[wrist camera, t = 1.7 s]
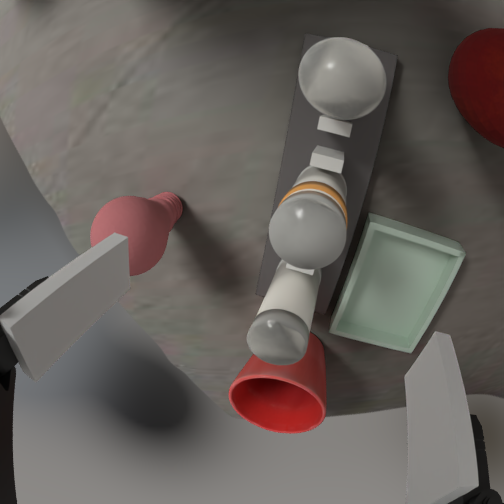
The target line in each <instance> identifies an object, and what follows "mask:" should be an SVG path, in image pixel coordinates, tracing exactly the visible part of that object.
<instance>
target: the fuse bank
mask: <svg viewBox="0 0 504 504" xmlns="http://www.w3.org/2000/svg"><path fill="white" fill-rule="evenodd" d="M325 39H328V37H323V36H318V35H312V34H306V33H305V38H304V44H303V49H302V55H301V60H302V58H303V56H304V55H305V53H306V52H307V51H308V50H309V49H310V48H311V47H312V46H313V45H315V44H316V43H318V42H320V41H322V40H325ZM364 45H365V44H364ZM366 46H367V47H368V45H366ZM369 48H370V49H371V50H372V51H373V52H374V53H375V54H376V55H377V56H378V58H379V59H380V61H381V62H382V65H383V67H384V70H385V73H386V91H385V94H384V97H383V99H382V101H381V102H380V104H379V105H378V106H377V107H376V108H375V109H374V110H373V111H372V112H370V113H369V114H367V115H365V116H363V117H360V118H357V119H352V120H341V119H335V118H332V117H329V116H327V115H324V114H322V113H321V112H319V111H318V110H316V109H315V108H314V107H313V106H312V105H311V104H310V103H309V102H308V101H307V99H306V98H305V96H304V95H303V92H302V90H301V87H300V84H299V76H298V77H297V83H296V88H295V94H294V99H293V104H292V110H291V115H290V121H289V126H288V131H287V137H286V142H285V147H284V153H283V158H282V163H281V168H280V173H279V179H278V184H277V189H276V194H275V199H274V204H273V210H272V215H271V218H272V216H273V214H274V213H275V211H276V210H277V208H278V206H279V204H280V202H281V201H282V199H283V198H284V196H285V195H286V193H287V192H288V191H289V190H290V189H291V188H292V187H293V185H294V184H295V182H296V181H297V178H298V177H299V175H300V174H301V172H302V171H303V170H304V169H305V168H306V167H307V166H309V165H310V166H314V167H318V168H322V169H326V170H330V171H333V172H337V173H341V172H342V174H343V176H344V177H345V180H346V184H347V195H346V207H347V230H346V243H345V246H344V249H343V251H342V253H341V254H340V256H339V257H338V258H337V259H336V260H335V261H334V262H332V263H331V264H329V265H327V266H325V267H323V268H322V276H321V282H320V285H319V289H318V295H317V300H316V305H315V310H314V312H318V313H321V314H326V311H327V308H328V306H329V303H330V301H331V298H332V295H333V292H334V290H335V287H336V284H337V281H338V279H339V276H340V273H341V270H342V267H343V264H344V261H345V259H346V256H347V253H348V250H349V247H350V244H351V241H352V237H353V234H354V231H355V228H356V225H357V222H358V218H359V215H360V212H361V209H362V205H363V202H364V198H365V195H366V192H367V188H368V185H369V181H370V177H371V174H372V170H373V166H374V162H375V159H376V155H377V151H378V147H379V143H380V139H381V135H382V130H383V126H384V122H385V117H386V113H387V108H388V104H389V99H390V94H391V89H392V84H393V79H394V73H395V68H396V62H397V56H398V55H395V54H391V53H388V52H385V51H382V50H378V49H375V48H371V47H369ZM301 60H300V63H301ZM298 73H299V72H298ZM270 221H271V220H270ZM280 261H281V258H280V257H279V256H278V255H277V253H276V252H275V250H274V249H273V247H272V245H271V242H270V238H269V230H268V235H267V240H266V245H265V250H264V255H263V260H262V265H261V270H260V275H259V280H258V285H257V290H256V295H259V296H263V297H265V296H266V293H267V291H268V289H269V287H270V284H271V282H272V280H273V278H274V275H275V273H276V270H277V267H278V265H279V263H280ZM286 268H288V269H292V270H295V271H299V272H303V273H306V274H310V275H313V273H314V269H313V270H307V269H300V268H297V267H294V266H292V265H290V264H288V263H287V264H286Z"/></svg>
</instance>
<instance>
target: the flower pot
mask: <svg viewBox="0 0 504 504" xmlns="http://www.w3.org/2000/svg"><path fill="white" fill-rule="evenodd" d="M229 400H230V402H231V405H232V406H233V408H234V409H235V411H236V412H237V413H238V414H239V415H240V416H242V417H243V418H244V419H246V420H247V421H249V422H250V423H252V424H254V425H256V426H258V427H261V428H264V429H266V430H269V431H274V432H279V433H301V432H306V431H309V430H312V429H314V428H316V427H317V426H318V425H320V424H321V423H322V422H323V420H324V418H325V416H326V367H325V356H324V348H323V345H322V343H321V342H320V340H319V339H318V338H317V337H316V336H315V335H314V334H312V333H311V332H310V333H309V341H308V345H307V350H306V353H305V355H304V357H303V358H302V359H301V360H299V361H298V362H296V363H294V364H290V365H274V364H270V363H267V362H265V361H263V360H261V359H260V358H258V357H257V356H256V355H254V354H253V355H252V356H251V358H250V359H249V361H248V362H247V363H246V365H245V366H244V367H243V369H242V370H241V372H240V373H239V374H238V376H237V377H236V378H235V380H234V381H233V383H232V385H231V386H230V389H229Z"/></svg>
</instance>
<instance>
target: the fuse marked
mask: <svg viewBox="0 0 504 504" xmlns="http://www.w3.org/2000/svg"><path fill="white" fill-rule="evenodd" d="M346 195H347V184H346V180H345V177H344V176H343V174H342V172H341V173H337V172H333V171H330V170H326V169H322V168H318V167H314V166H310V165H309V166H307V167H306V168H305V169H304V170H303V171H302V172H301V174H300V175H299V177H298V178H297V181H296V182H295V184H294V185H293V187H292V188H291V189H290V190H289V191H288V192H287V193H286V195H285V196H284V198H283V199H282V201H281V202H280V204H279V206H278V208H277V210H276V211H275V213H274V214H273V216H272V218H271V221H270V225H269V238H270V242H271V245H272V247H273V249H274V250H275V252H276V253H277V255H278V256H279V257H280V258H281V259H282V260H284V261H285V262H286V263H288V264H290V265H292V266H294V267H297V268H300V269H307V270H313V269H319V268H323V267H325V266H327V265H329V264H331V263H332V262H334V261H335V260H336V259H337V258H338V257H339V256H340V254H341V253H342V251H343V249H344V246H345V243H346V230H347V207H346Z"/></svg>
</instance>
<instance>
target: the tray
mask: <svg viewBox="0 0 504 504" xmlns="http://www.w3.org/2000/svg"><path fill="white" fill-rule="evenodd" d="M465 255H466V252H465V251H464V249H463V248H462V246H461V245H460V243H459V242H457V241H455V240H452V239H449V238H446V237H443V236H440V235H438V234H435V233H432V232H429V231H426V230H423V229H420V228H417V227H414V226H411V225H408V224H405V223H402V222H399V221H396V220H392V219H389V218H386V217H383V216H380V215H376V214H373V213H370V212H369V213H368V216H367V219H366V222H365V225H364V228H363V232H362V235H361V238H360V241H359V244H358V246H357V249H356V252H355V255H354V258H353V261H352V264H351V266H350V269H349V272H348V275H347V277H346V280H345V283H344V286H343V288H342V291H341V293H340V296H339V299H338V301H337V304H336V306H335V309H334V311H333V314H332V316H331V319H330V327H329V333H332V334H335V335H339V336H343V337H346V338H350V339H354V340H358V341H362V342H366V343H370V344H374V345H378V346H382V347H386V348H390V349H394V350H399V351H403V352H407V353H412V351H413V350H414V348H415V347H416V345H417V343H418V342H419V340H420V339H421V337H422V335H423V334H424V332H425V331H426V329H427V327H428V326H429V324H430V322H431V320H432V319H433V317H434V315H435V313H436V312H437V310H438V308H439V306H440V305H441V303H442V301H443V299H444V297H445V295H446V293H447V291H448V290H449V288H450V286H451V284H452V282H453V280H454V278H455V276H456V274H457V272H458V270H459V267H460V265H461V263H462V261H463V259H464V257H465Z"/></svg>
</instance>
